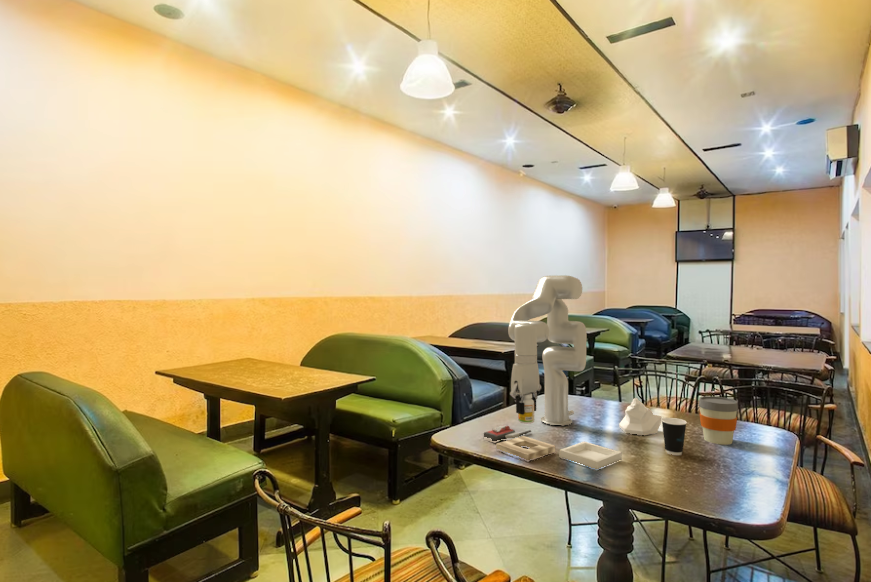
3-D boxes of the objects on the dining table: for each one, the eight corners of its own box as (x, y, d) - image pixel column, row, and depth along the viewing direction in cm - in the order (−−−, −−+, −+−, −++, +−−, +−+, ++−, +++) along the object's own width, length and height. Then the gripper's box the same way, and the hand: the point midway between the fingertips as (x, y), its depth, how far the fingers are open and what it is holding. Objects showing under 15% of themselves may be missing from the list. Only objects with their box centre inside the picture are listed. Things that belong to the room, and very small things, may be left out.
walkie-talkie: (497, 446, 170) (533, 435, 183) (497, 434, 170) (533, 423, 183) (480, 440, 177) (515, 430, 190) (479, 428, 177) (515, 419, 190)
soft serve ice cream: (658, 442, 178) (654, 407, 176) (617, 439, 187) (611, 405, 184) (662, 426, 189) (658, 392, 186) (622, 423, 197) (618, 391, 194)
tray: (584, 449, 166) (584, 441, 166) (621, 460, 155) (621, 452, 155) (559, 458, 157) (559, 449, 157) (597, 471, 146) (597, 461, 146)
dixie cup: (686, 458, 157) (686, 425, 157) (660, 454, 161) (660, 421, 161) (687, 451, 164) (687, 419, 164) (661, 447, 168) (662, 416, 168)
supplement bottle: (523, 418, 168) (523, 390, 168) (537, 421, 164) (536, 393, 164) (515, 422, 164) (515, 394, 163) (529, 425, 160) (529, 396, 160)
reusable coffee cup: (698, 442, 173) (699, 401, 173) (698, 433, 184) (698, 394, 184) (739, 448, 167) (739, 405, 167) (736, 438, 178) (736, 398, 178)
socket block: (523, 442, 173) (523, 435, 173) (555, 453, 162) (555, 445, 162) (496, 450, 164) (496, 443, 164) (527, 462, 154) (527, 454, 154)
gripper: (533, 355, 172) (533, 405, 172) (500, 361, 161) (500, 414, 162) (550, 357, 166) (550, 409, 166) (517, 364, 155) (517, 419, 156)
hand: (526, 411), depth 164 cm, fingers closed on supplement bottle, 5 cm apart
